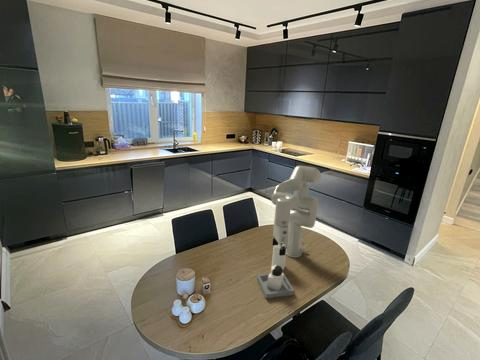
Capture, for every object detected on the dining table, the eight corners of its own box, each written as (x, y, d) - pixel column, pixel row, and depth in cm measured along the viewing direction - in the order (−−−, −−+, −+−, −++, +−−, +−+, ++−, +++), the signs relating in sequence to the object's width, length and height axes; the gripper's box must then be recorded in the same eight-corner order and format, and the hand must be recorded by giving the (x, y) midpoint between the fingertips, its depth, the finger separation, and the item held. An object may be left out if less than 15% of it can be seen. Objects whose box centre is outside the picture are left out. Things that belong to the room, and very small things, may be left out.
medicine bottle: (282, 284, 146) (285, 266, 143) (279, 291, 140) (281, 273, 136) (271, 279, 149) (272, 262, 146) (266, 287, 143) (268, 269, 139)
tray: (282, 275, 154) (282, 271, 153) (293, 294, 139) (294, 290, 138) (256, 279, 150) (257, 274, 149) (265, 299, 135) (266, 294, 134)
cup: (285, 264, 165) (288, 242, 160) (283, 272, 158) (286, 249, 153) (273, 261, 167) (275, 239, 163) (270, 268, 160) (272, 246, 155)
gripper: (295, 228, 125) (291, 258, 131) (281, 213, 141) (279, 240, 147) (281, 229, 124) (278, 260, 129) (269, 214, 139) (266, 241, 145)
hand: (278, 249), depth 138 cm, fingers open, 9 cm apart
